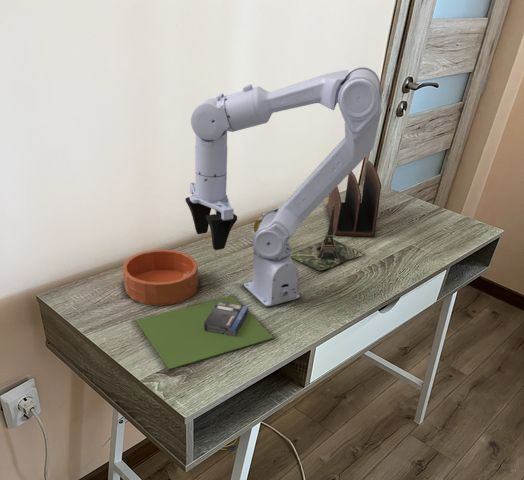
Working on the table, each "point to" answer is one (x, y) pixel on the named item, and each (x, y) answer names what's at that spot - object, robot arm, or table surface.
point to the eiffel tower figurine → (326, 251)
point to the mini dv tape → (226, 318)
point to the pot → (160, 277)
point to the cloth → (197, 334)
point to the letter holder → (357, 205)
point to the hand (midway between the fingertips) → (210, 240)
